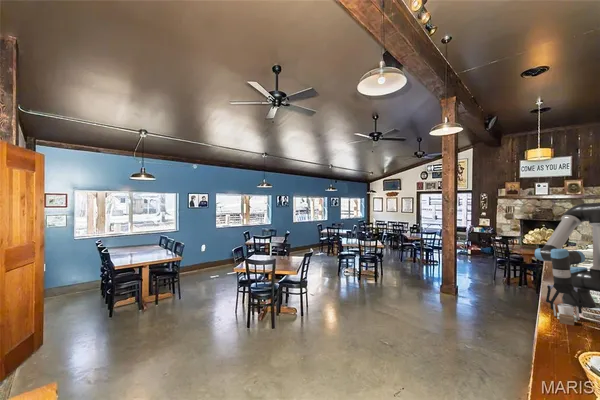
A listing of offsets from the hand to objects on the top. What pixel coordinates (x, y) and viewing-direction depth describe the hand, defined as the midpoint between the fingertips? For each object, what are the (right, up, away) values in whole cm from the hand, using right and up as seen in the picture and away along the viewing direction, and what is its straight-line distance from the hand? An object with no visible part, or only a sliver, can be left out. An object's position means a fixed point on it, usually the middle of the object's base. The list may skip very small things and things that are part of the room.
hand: (566, 317), depth 155 cm
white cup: (0, -1, 0) cm, 1 cm away
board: (+2, -1, +1) cm, 2 cm away
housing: (-5, -1, -6) cm, 8 cm away
